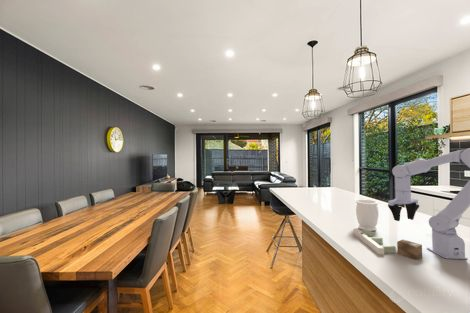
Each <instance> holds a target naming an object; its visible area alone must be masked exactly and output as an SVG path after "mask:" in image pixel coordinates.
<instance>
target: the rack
mask: <svg viewBox="0 0 470 313" xmlns="http://www.w3.org/2000/svg"><path fill="white" fill-rule="evenodd" d="M352 231H353V235H354V236H356V237H357V238H358V239H360V241H361V242H362V243H364V244H366V245H367V246H368V247H369V248H370V249H371V250H373V251H374V252H375V253H376V254H378V255H379V256H380V255H382V256H384V255H385V253H386V254H387V253H390V254H397V253H396V252H397V250H396V249H397V247H396V246H395V245H381V244H384V242H383V241H384V240H383V237H372V236H373V231H367V230H362V229H360V228H353V230H352Z"/></svg>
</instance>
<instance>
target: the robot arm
mask: <svg viewBox="0 0 470 313" xmlns="http://www.w3.org/2000/svg"><path fill="white" fill-rule="evenodd" d="M452 162H453V163H454V162H456V163H463V164H465V165H466V166H467V167H468V168H469V169H470V147H469V148H466V149H459V150H455V151H451V152H448V153H445V154H441V155H439V156H435V157H433V158H430V159H426V158H420V157H419V158H415V159H414V160H413V161H410V162H403V164H397V165H395V166H394V167H393V168H392V170H391V174H392V175H393V176H394V188H395V189H394V190H395V193H394V194H395V195H394V196H395V198H393V199H390V200H388V201H387V207H388V209H389V210H390V211H391V214H392V218H393V220H394V221H396V222H400V220H401V211H402V209H403V206H401V205H404V206H405V209H406V216H407V219H408V220H411V221H412V220H413V221H414V218H415V215H416V213H417V211H418V209H419V208H420V204H419V199H417V198H412V187H411V184H412V183H411V182H412V181H411V177H412V176H415V175H419V174H422V173H426V172H429V171H430V170H431V168H434V167H436V166H441V165H445V164H448V163H452ZM469 208H470V179H469V180H468V181H467V182H466V184H464V186H463V187H462V188H461V189H460V191H459V192H458V193H457V194H456V195H455V196H454V197H453V199H452V200H450V202H449V203H448V204H447V206H445V207H444V208H443V209H442V210H440V211H439V212H438V213H437V214H435V215H432V216H431V217H430V218H429V220H428V225H429V227H430V228H431V242H432V243H431V246H427V247H426V249H427V250H428V251H431V252H433V253H435V254H437V255H438V256H440V257H441V258H443V259H449V260H450V259H455V260H456V259H457V260H468V257H467V256H466V248H465V247H466V244H465V240H464V239H463V237H461V236H460V235H459V234H458V233H457V229H456V228H457V227H458V226H459V223H460V219H462V216H463V214H464V213H465V212H466V211H467V210H468V209H469Z"/></svg>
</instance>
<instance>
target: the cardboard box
mask: <svg viewBox="0 0 470 313" xmlns="http://www.w3.org/2000/svg"><path fill="white" fill-rule="evenodd" d="M396 244H397V245H396V246H397V247H396V249H397V250H396V252H397V253H396V254H397V255H399V256H400V255H401V256H403V257H406V258H409V259H412V260H416V261H418V260H419V259H422V258H423V245H422V244H420V243H416V242H413V241H410V240H406V239H401V240H397V241H396Z"/></svg>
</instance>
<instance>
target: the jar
mask: <svg viewBox="0 0 470 313" xmlns="http://www.w3.org/2000/svg"><path fill="white" fill-rule="evenodd" d="M355 203H356V206H355V207H356V208H355V214H356V215H355V216H356V220H357V223H358V225H359V226H358V229H359V230H367V231H372V232H374V231H377V228H376V227H377V225H378V222H379V221H378V220H379V209H378V208H379V207H378V204H379V202H378V201H375V200H370V199H358V200H355Z"/></svg>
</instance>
